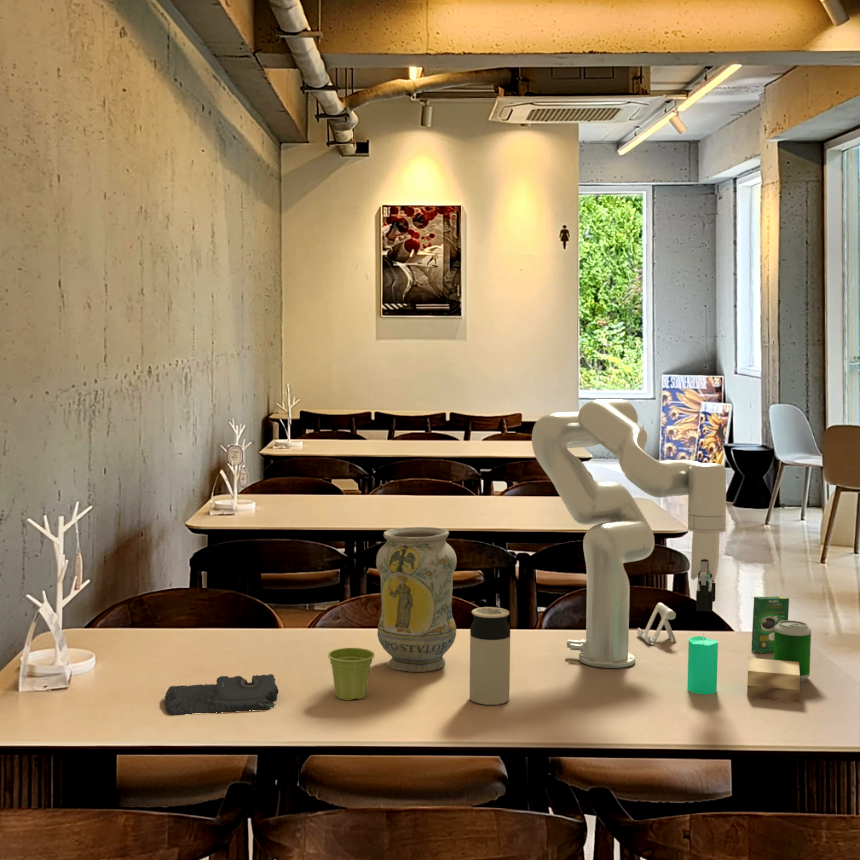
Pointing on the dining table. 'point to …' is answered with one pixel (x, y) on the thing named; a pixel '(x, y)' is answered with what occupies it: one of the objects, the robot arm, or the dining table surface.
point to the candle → (702, 665)
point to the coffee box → (767, 621)
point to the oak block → (773, 673)
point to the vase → (416, 597)
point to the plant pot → (350, 672)
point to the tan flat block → (773, 693)
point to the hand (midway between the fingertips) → (705, 605)
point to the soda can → (793, 645)
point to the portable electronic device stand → (665, 615)
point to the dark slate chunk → (223, 696)
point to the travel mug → (490, 656)
